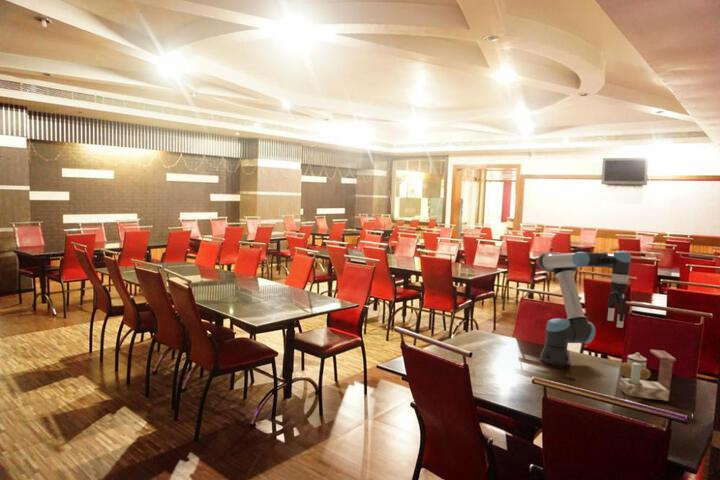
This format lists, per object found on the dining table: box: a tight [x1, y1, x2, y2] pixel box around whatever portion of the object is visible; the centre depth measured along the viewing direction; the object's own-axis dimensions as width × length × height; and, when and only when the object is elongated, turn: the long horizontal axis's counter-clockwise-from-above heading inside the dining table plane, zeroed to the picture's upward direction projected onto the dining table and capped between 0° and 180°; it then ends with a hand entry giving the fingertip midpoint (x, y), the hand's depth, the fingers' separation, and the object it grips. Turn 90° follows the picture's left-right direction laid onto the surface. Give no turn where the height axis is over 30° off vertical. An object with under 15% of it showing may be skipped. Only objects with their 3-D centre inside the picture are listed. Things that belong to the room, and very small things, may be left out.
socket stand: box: [618, 349, 677, 402], centre depth 224 cm, size 18×12×20 cm, turn 80°
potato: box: [619, 362, 652, 381], centre depth 243 cm, size 10×14×8 cm
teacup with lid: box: [626, 352, 648, 369], centre depth 253 cm, size 12×9×12 cm
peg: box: [630, 363, 641, 385], centre depth 225 cm, size 4×4×14 cm
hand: (614, 323), depth 240 cm, fingers open, 13 cm apart
